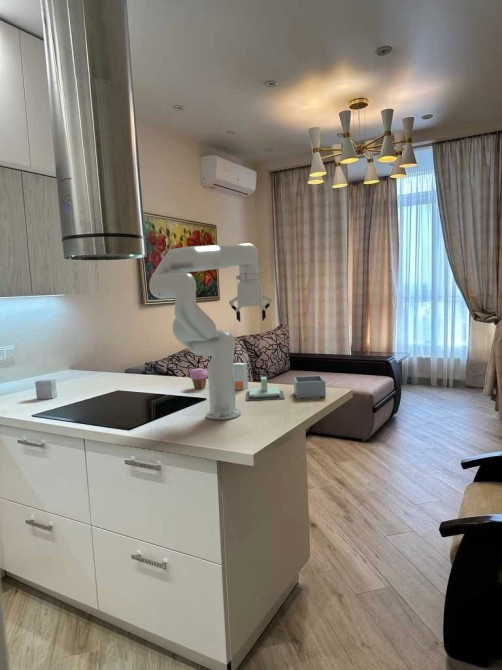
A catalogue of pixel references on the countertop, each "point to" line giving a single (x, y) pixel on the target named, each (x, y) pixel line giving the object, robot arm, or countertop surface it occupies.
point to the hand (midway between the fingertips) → (251, 321)
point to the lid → (264, 390)
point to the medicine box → (46, 389)
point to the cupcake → (199, 378)
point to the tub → (309, 387)
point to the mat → (264, 397)
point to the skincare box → (240, 375)
